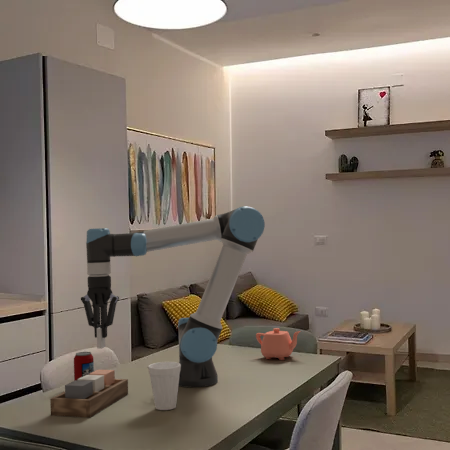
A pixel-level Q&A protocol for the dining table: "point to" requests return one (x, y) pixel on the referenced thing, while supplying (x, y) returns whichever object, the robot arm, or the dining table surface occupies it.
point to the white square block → (94, 381)
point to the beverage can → (83, 364)
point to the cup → (165, 383)
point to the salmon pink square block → (106, 376)
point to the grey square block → (79, 389)
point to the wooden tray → (89, 401)
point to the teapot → (277, 343)
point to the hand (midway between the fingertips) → (101, 347)
